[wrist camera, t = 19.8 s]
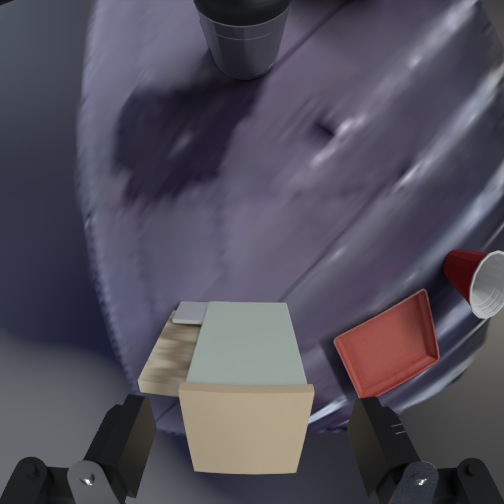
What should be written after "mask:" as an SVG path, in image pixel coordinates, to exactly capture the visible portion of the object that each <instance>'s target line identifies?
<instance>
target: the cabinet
mask: <svg viewBox="0 0 504 504" xmlns="http://www.w3.org/2000/svg"><path fill="white" fill-rule="evenodd" d="M172 321H173V323H185V324H202V327H201V330H200V334H199V337H198V341H197V344H196V348H195V351H194V354H193V358H192V361H191V365H190V368H189V372H188V376H187V379H186V382H180V385H179V388H178V392H179V398H180V404H181V409H182V415H183V420H184V425H185V430H186V435H187V440H188V445H189V449H190V453H191V458H192V463H193V466H194V471H201V472H214V473H231V474H280V473H296V470H297V466H298V463H299V459H300V455H301V451H302V446H303V443H304V438H305V434H306V430H307V425H308V421H309V416H310V412H311V407H312V402H313V397H314V388H313V384H307V381H306V377H305V373H304V369H303V365H302V361H301V358H300V354H299V350H298V346H297V342H296V338H295V334H294V330H293V326H292V322H291V319H290V315H289V311H288V307H287V303H256V302H215V301H209V302H186V301H181V303H180V305H179V307H178V309H177V311H176V313H175V315H174V317H173V319H172Z"/></svg>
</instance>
